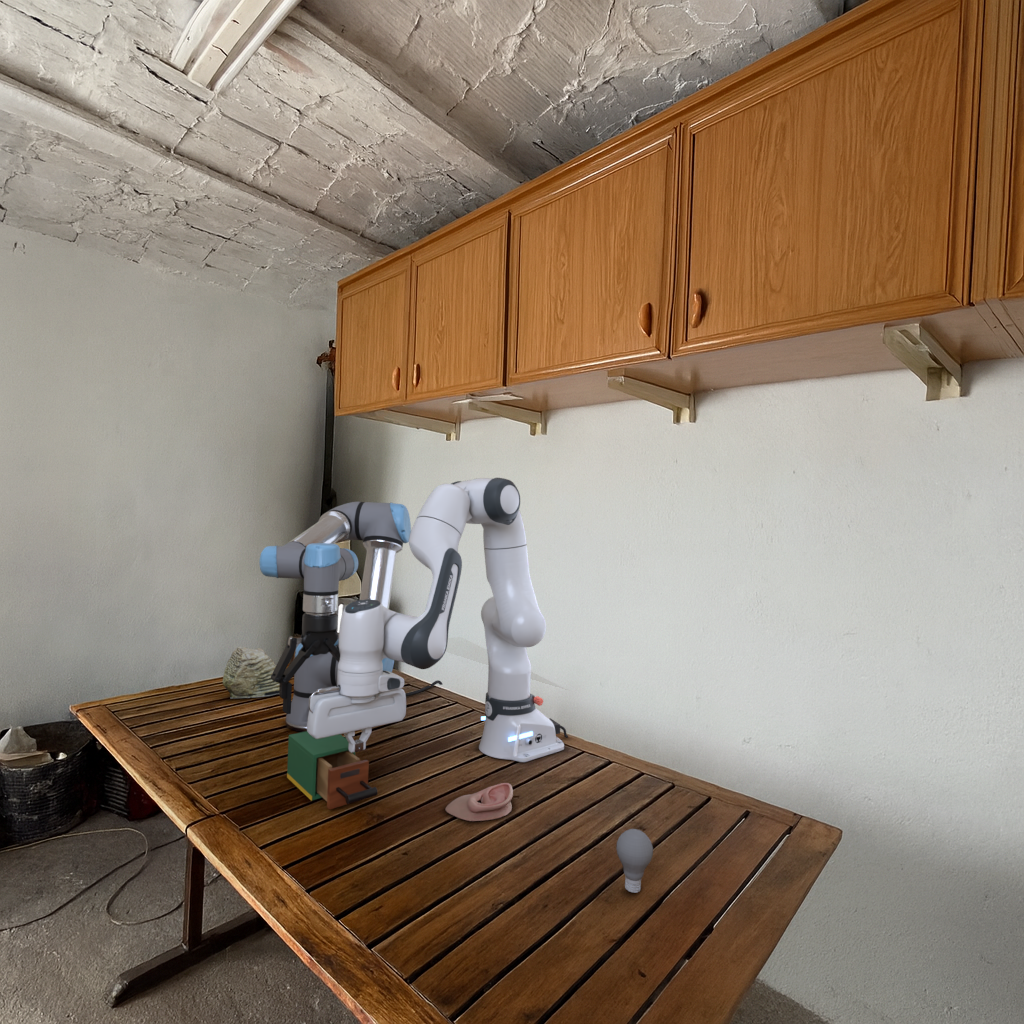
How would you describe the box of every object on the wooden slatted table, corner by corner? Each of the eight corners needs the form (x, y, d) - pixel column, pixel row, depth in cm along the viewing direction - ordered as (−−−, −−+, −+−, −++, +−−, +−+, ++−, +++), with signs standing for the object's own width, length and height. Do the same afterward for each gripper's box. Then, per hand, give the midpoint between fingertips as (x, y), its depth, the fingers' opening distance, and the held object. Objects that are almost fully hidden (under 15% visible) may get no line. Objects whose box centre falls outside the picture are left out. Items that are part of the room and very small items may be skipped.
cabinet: (354, 788, 138) (355, 745, 138) (311, 800, 132) (313, 755, 132) (327, 767, 148) (329, 726, 148) (286, 777, 142) (288, 734, 142)
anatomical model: (441, 797, 127) (457, 773, 138) (440, 817, 127) (456, 791, 138) (505, 806, 124) (517, 781, 136) (504, 826, 124) (516, 800, 136)
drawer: (381, 810, 128) (383, 771, 127) (342, 822, 122) (344, 782, 122) (341, 776, 142) (342, 742, 141) (304, 786, 136) (305, 750, 136)
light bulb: (610, 879, 108) (613, 822, 108) (644, 879, 109) (647, 822, 109) (619, 902, 102) (622, 840, 102) (655, 901, 103) (658, 840, 103)
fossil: (218, 695, 195) (220, 647, 195) (278, 685, 208) (279, 640, 207) (228, 703, 189) (230, 653, 188) (289, 692, 201) (290, 645, 201)
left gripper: (270, 620, 131) (266, 722, 131) (378, 610, 147) (374, 701, 147) (257, 614, 137) (254, 712, 137) (363, 605, 153) (359, 693, 153)
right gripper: (316, 694, 118) (313, 768, 118) (411, 678, 131) (408, 744, 131) (302, 686, 123) (300, 756, 123) (396, 671, 136) (393, 735, 136)
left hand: (316, 706), depth 142 cm, fingers open, 13 cm apart
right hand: (356, 750), depth 127 cm, fingers closed
